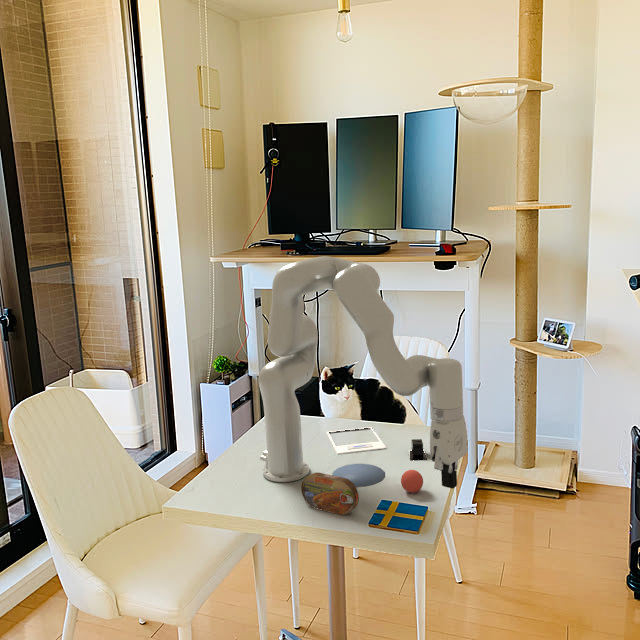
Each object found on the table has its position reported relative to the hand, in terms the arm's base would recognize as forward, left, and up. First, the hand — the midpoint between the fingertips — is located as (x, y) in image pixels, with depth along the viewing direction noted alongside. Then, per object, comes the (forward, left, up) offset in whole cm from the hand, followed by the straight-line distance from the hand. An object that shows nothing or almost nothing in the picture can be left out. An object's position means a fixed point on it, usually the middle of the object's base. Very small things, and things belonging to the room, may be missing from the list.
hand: (449, 486), depth 154 cm
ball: (-10, 0, -2) cm, 11 cm away
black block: (-22, +20, -5) cm, 30 cm away
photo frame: (-43, +19, -5) cm, 48 cm away
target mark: (-27, 0, -4) cm, 28 cm away
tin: (-21, -19, -5) cm, 29 cm away
